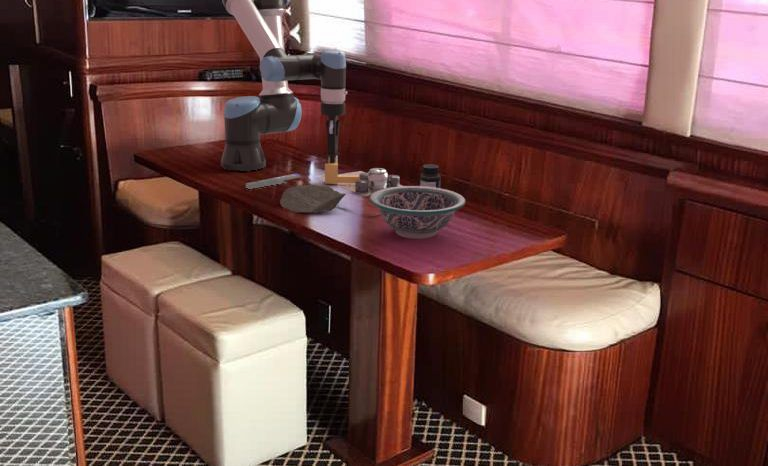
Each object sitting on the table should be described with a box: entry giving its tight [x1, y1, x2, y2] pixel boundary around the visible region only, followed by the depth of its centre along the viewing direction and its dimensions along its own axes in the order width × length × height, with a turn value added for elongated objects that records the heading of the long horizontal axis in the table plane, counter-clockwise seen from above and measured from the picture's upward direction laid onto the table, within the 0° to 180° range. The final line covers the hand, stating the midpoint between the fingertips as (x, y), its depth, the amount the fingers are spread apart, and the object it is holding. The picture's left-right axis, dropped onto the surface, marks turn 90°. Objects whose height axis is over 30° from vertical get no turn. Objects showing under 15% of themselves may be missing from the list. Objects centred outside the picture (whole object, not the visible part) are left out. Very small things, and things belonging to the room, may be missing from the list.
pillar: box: [245, 173, 301, 190], centre depth 268 cm, size 2×2×20 cm
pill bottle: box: [419, 164, 442, 188], centre depth 251 cm, size 6×6×11 cm
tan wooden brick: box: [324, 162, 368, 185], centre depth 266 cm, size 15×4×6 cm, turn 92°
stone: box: [279, 184, 346, 213], centre depth 244 cm, size 20×4×15 cm
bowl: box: [369, 185, 466, 240], centre depth 222 cm, size 25×25×10 cm
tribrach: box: [317, 167, 403, 197], centre depth 267 cm, size 26×17×7 cm, turn 37°
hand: (332, 175), depth 269 cm, fingers closed
